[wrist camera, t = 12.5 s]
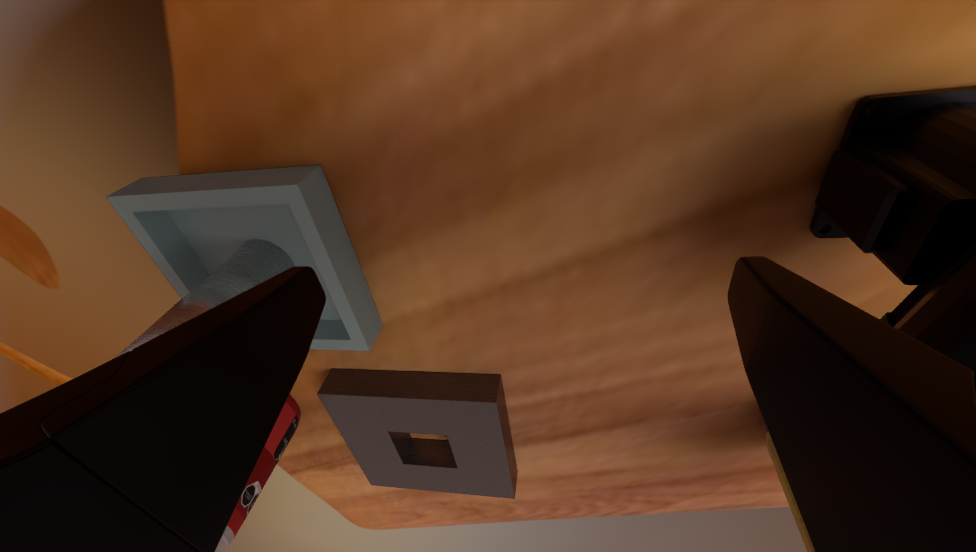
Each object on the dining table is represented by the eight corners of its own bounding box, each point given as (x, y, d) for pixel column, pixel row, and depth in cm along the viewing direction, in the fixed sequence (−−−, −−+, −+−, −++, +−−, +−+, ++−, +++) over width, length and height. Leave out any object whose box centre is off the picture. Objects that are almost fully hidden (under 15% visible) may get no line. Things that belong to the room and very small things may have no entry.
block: (500, 374, 31) (496, 402, 29) (517, 471, 39) (514, 498, 37) (331, 368, 34) (316, 394, 32) (380, 460, 42) (371, 485, 40)
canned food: (267, 431, 42) (190, 553, 34) (204, 382, 38) (98, 506, 30) (321, 418, 39) (250, 549, 30) (257, 364, 35) (157, 497, 27)
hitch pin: (307, 252, 26) (115, 470, 15) (298, 300, 29) (129, 513, 18) (234, 220, 25) (-24, 423, 14) (232, 272, 28) (14, 476, 17)
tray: (320, 164, 23) (297, 184, 21) (382, 324, 30) (369, 350, 28) (141, 178, 25) (105, 196, 23) (238, 323, 32) (217, 346, 30)
